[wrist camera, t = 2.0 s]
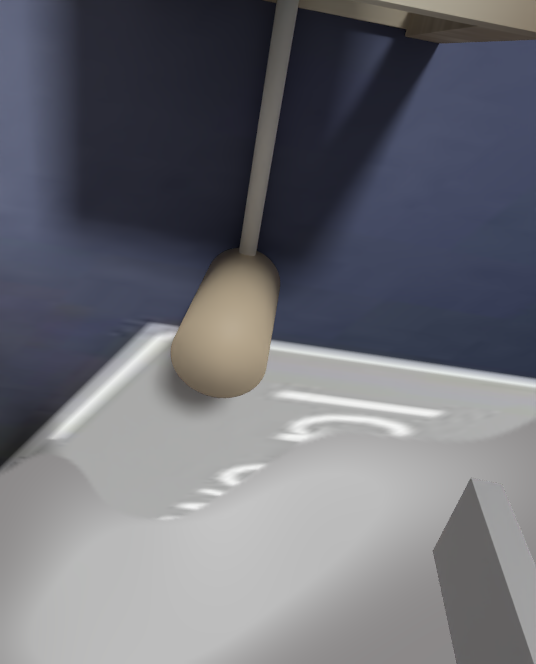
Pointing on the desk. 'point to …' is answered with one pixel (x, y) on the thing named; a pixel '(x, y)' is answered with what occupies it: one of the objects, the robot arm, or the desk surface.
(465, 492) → the robot arm
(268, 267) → the tan maraca
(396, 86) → the desk surface
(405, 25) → the small wooden stool
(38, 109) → the desk surface
